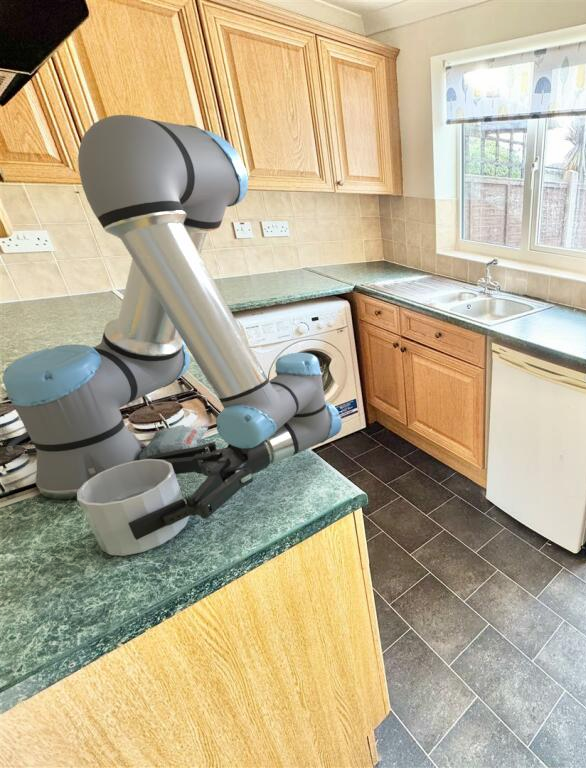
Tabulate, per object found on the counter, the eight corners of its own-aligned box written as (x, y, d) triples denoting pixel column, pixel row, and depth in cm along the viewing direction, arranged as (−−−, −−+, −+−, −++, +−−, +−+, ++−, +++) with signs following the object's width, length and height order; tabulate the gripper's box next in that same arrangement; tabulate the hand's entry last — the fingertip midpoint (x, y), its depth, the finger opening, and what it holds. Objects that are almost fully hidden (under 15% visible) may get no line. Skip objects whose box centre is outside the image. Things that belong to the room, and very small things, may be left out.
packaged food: (210, 436, 91) (205, 417, 89) (196, 468, 81) (190, 446, 79) (161, 443, 88) (154, 422, 86) (141, 476, 78) (132, 454, 76)
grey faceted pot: (81, 555, 62) (54, 502, 57) (142, 505, 71) (123, 456, 67) (154, 560, 62) (132, 507, 57) (205, 509, 71) (189, 461, 67)
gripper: (302, 491, 74) (156, 570, 57) (232, 442, 86) (95, 496, 70) (295, 456, 70) (139, 529, 54) (223, 410, 83) (78, 459, 67)
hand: (114, 511), depth 62 cm, fingers open, 13 cm apart
